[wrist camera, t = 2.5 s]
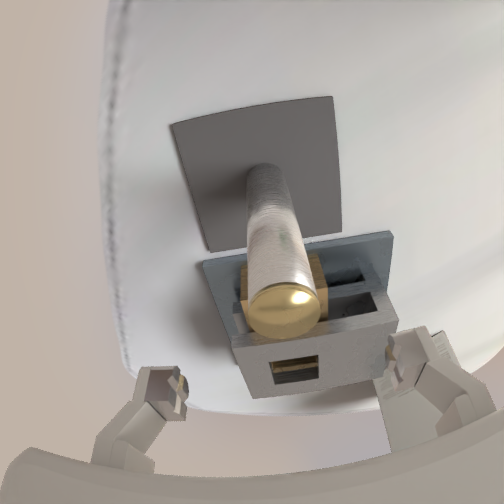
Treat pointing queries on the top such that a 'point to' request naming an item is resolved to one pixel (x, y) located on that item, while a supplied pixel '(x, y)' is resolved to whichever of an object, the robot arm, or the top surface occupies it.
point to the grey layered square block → (328, 326)
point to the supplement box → (410, 406)
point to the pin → (277, 259)
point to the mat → (262, 151)
